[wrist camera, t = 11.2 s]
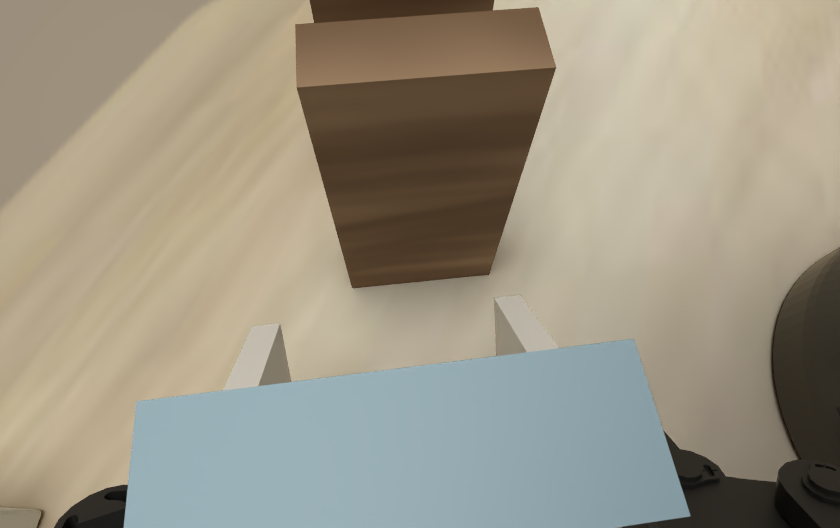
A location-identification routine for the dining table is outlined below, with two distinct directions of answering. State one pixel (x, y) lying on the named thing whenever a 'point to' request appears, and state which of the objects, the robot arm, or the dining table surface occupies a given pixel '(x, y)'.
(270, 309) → the dining table surface
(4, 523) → the small box
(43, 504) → the dining table surface
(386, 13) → the domino
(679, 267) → the dining table surface
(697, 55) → the dining table surface
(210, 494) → the blue domino
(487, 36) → the domino
